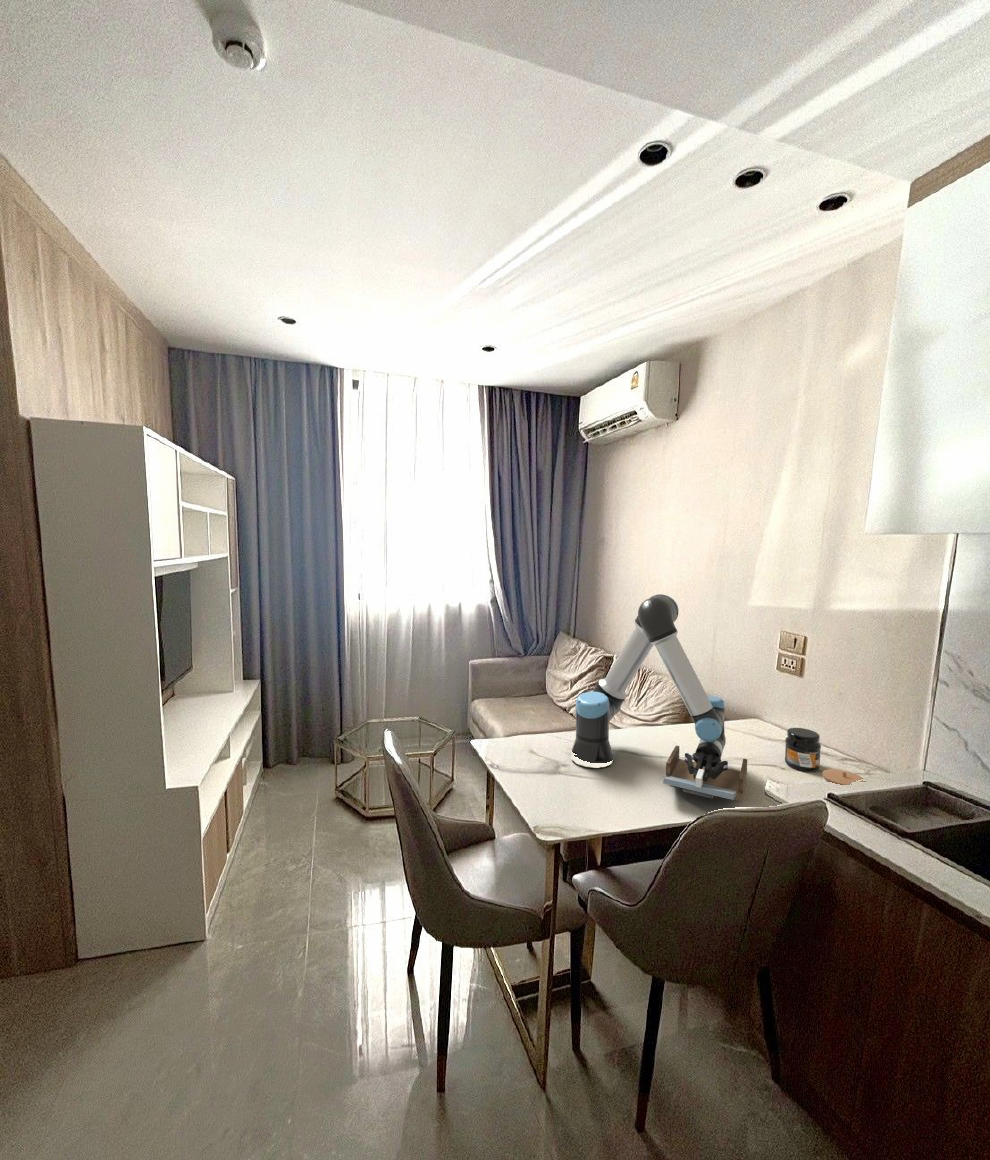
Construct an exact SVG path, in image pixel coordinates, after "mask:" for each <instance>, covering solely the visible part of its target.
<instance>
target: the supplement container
mask: <svg viewBox="0 0 990 1160" xmlns="http://www.w3.org/2000/svg"><path fill="white" fill-rule="evenodd" d="M786 735H787V736H786V737H785V739H784V740H785V746H784V747H785V748H784V749H785V753H784V754H785V756H784V762H785V764H786V765H787V766H789V767H790V768H792V769H795V770H797V771H802V772H806V773H807V772H808V773H811V772H816V771H819V770H820V768H821V748H822V745H821V743H820V740H821V739H820V737H821V735H820V734H819V733H818V732H817V731H814V730H811V729H808V728H803V727H790V728H788V729H787V730H786Z"/></svg>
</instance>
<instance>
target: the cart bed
mask: <svg viewBox="0 0 990 1160" xmlns="http://www.w3.org/2000/svg"><path fill="white" fill-rule="evenodd" d="M692 762H693V767H694V768H695V767H696V764H697V763H696V762H695V761H694V760H693V761H692ZM712 769H713V768H712ZM703 770H704V767H703ZM747 775H748V758H742V763H741V768H740V770H735V769H732V768H728V770H725V771H723V772H722V773H721V774H720V775H719V776H718V777H717V778H716V779H712V778H711V777H709V778H708V780H707V782H705V781H703V784H707V785H712V786H716V787H720V788H725V789H729V790H733V791H737V793H736V797H735V798H734V799H733V800H734V801H738V802H743V798H744V793H745V788H746V783H747ZM665 776H666V777H670V776H672V777H676V778H681V779H685V780H690V781H694V782H696V779H694V778H693V774H689V770H688V765H687V763H686V762H685V758H684V759H682V758H680V745H675V746H674V747H673V750H672V752H670V755H669V756H668V758H667V761H666V763H665Z"/></svg>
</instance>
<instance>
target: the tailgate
mask: <svg viewBox="0 0 990 1160" xmlns="http://www.w3.org/2000/svg"><path fill="white" fill-rule="evenodd" d="M662 779H663V780H662V784H664V785H668V786H673V787H677V788H682V792H684V793H687V794H691V795H697V796H700V797H704V798H708V799H713V796H714V797H715V796H716V797H719V798H723V799H728V800H732V801H733V800H734V798H735V797H736V793H737V791H733V790H729V789H725V788H720V787H716V786H712V785H707V784H703V783H702V786H701V788H699V787H695V785H696V782H694V781H690V780H685V779H681V778H676V777H672V776H670V777H667V776H666V777H663V778H662Z"/></svg>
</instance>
